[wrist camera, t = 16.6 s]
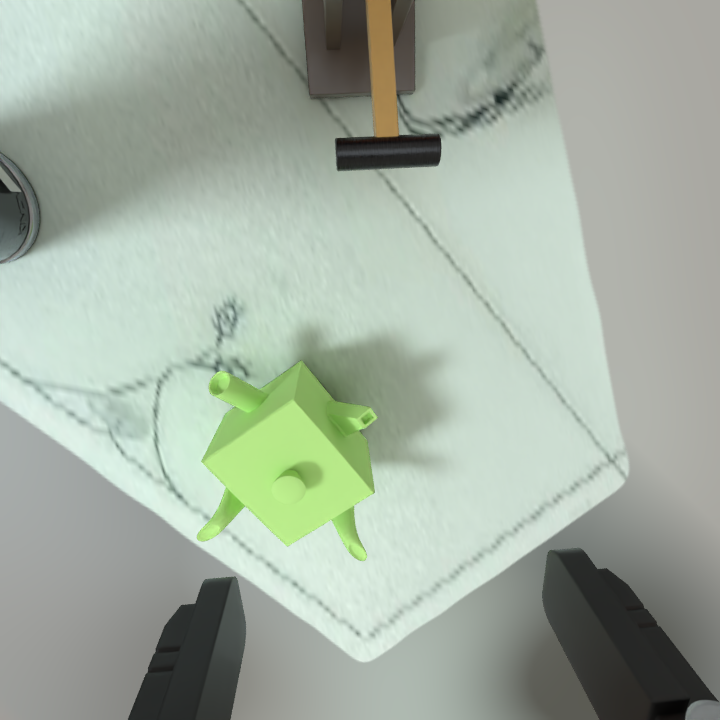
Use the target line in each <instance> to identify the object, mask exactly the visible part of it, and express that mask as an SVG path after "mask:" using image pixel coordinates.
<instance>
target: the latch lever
mask: <svg viewBox="0 0 720 720" xmlns="http://www.w3.org/2000/svg"><path fill="white" fill-rule="evenodd" d="M365 2H366V17H367V33H368V49H369V65H370V80H371V96H372V112H373V127H374V136H373V137H352V138H336V139H335V150H336V166H337V171H352V170H372V169H392V168H412V167H432V166H438V165H439V162H440V158H441V138H440V135H439V134H416V135H399V128H398V111H397V95H396V79H395V63H394V46H393V30H392V14H391V0H365Z"/></svg>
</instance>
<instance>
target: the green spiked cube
mask: <svg viewBox="0 0 720 720" xmlns="http://www.w3.org/2000/svg"><path fill="white" fill-rule="evenodd" d="M209 392H210V394H211V395H213V396H215V397H217V398H219V399H221V400H223V401H225V402H227V403H229V404H231V405H233V406H235V407H234V408H233V409H231V410H230V411H228V412H227V413H226V414H225V416H224V418H223V420H222V422H221V423H220V425H219V427H218V429H217V431H216V433H215V435H214V437H213V439H212V441H211V443H210V445H209V447H208V449H207V451H206V453H205V455H204V457H203V459H202V461H201V462H202V463H203V464H204V465H205V466H206V467H207V468H208V469H209V470H210V471H211V472H212V473H213V474H214V475H215V476H216V477H217V478H218V479H219V480H220V481H221V482H222V483H223V484H224V485H225V486H226V489H225V492H224V495H223V497H222V500H221V503H220V505H219V507H218V509H217V511H216V512H215V514H214V515H213V517H212V518H211V520H210V521H209V522H208V523H207V524H206V525H205V526H204V527H203V528H202V529H201V530H200V532H199V533H198V535H197V539H198V540H199V541H207V540H209V539H212V538H213V537H215V536H216V535H218V534H219V533H220V532H221V531H222V530H223V529H224V528H225V527H226V526H227V525H228V524H229V523H230V522H231V521H232V520H233V519H234V517H235V516H236V515H237V514H238V513H239V512H240V511H241V510H242V509H243V508H244V507H245V506H246V507H247V508H248V509H249V510H250V511H251V512H252V513H253V514H254V515H255V516H256V517H257V518H258V519H259V520H260V521H261V522H262V523H263V524H264V525H265V526H266V527H267V528H268V529H269V530H270V531H271V532H272V533H273V534H274V535H276V536H277V537H278V538H279V539H280V540H281V541H282V542H283V543H284V544H285V545H286V546H287V547H288V546H289V545H291V544H292V543H294V542H295V541H297V540H299V539H300V538H302V537H304V536H305V535H307V534H309V533H310V532H312V531H314V530H315V529H317V528H319V527H320V526H322V525H324V524H325V523H327V522H328V521H330V520H332V522H333V524H334V526H335V528H336V530H337V532H338V534H339V536H340V537H341V539H342V541H343V543H344V545H345V547H346V548H347V550H348V551H349V553H350V554H351V555H352V556H353V557H354V558H356V559H357V560H360V561H364V560H366V558H367V554H366V551H365V549H364V547H363V545H362V543H361V542H360V540H359V537H358V534H357V531H356V526H355V519H354V505H356V504H357V503H359V502H360V501H362V500H364V499H365V498H367V497H368V496H370V495H372V494H374V493H375V490H374V483H373V476H372V469H371V462H370V456H369V449H368V442H367V440H366V439H365V438H364V436H363V435H362V434H361V433H360V431H359V430H361V429H363V428H364V429H365V428H366V427H367V426H369V425H370V424H371V423H372V422H373V421H375V420H376V419H377V418H378V417H377V416H376V415H375V413H374V412H373V411H372V409H371V408H370V407H367V406H361V405H355V404H348V403H342V402H336V401H334V399H333V398H332V397H331V396H330V394H329V393H328V392H327V391H326V390H325V388H324V387H323V386H322V385H321V383H320V382H319V381H318V380H317V379H316V377H315V376H314V375H313V374H312V373H311V371H310V370H309V369H308V368H307V366H306V365H305V364H304V363H303V362H302V360H301V361H300V362H299V363H297V364H296V365H294V366H293V367H291V368H290V369H289V370H287V371H286V372H284V373H283V374H281V375H280V376H279V377H277V378H276V379H274V380H273V381H271V382H270V383H268V384H267V385H266V386H264V387H263V388H261V389H260V390H259V389H257V388H255V387H253V386H252V385H250V384H248V383H246V382H244V381H242V380H240V379H239V378H237V377H235V376H233V375H231V374H229V373H227V372H225V371H220V372H218V373H216V374H215V375H214V376H213V377H212V379H211V380H210V383H209Z"/></svg>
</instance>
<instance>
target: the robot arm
mask: <svg viewBox="0 0 720 720" xmlns="http://www.w3.org/2000/svg"><path fill="white" fill-rule="evenodd" d="M39 222H40V216H39V207H38V203H37V200H36V197H35V194H34V192H33V190H32V187H31V186H30V184H29V182H28V180H27V179H26V177H25V176H24V175H23V173H22V172H21V171H20V170H19V169H18V167H17V166H16V165H15V164H14V163H13V162H12V161H10V160H9V159H8V158H7V157H6V156H4V155H3V154H2V153H0V264H2V263H6V262H10V261H13V260H15V259H17V258H19V257H20V256H22V255H23V254H25V253H26V252H27V251H28V250H29V249H30V247H31V246H32V245H33V243H34V241H35V239H36V237H37V234H38V230H39ZM542 598H543V605H544V609H545V613H546V616H547V618H548V620H549V623H550V625H551V627H552V629H553V630H554V632H555V634H556V636H557V638H558V640H559V642H560V644H561V646H562V648H563V650H564V652H565V654H566V656H567V658H568V660H569V661H570V663H571V665H572V667H573V669H574V671H575V673H576V675H577V677H578V679H579V681H580V683H581V684H582V687H583V689H584V691H585V692H586V694H587V696H588V698H589V700H590V702H591V704H592V706H593V708H594V710H595V712H596V714H597V716H598V718H599V720H720V702H719V701H718V700H717V699H716V698H715V697H714V695H713V694H712V693H711V692H710V691H709V689H708V688H707V687H706V685H705V684H704V683H703V681H702V680H701V679H700V678H699V676H698V675H697V674H696V672H695V671H694V670H693V668H692V667H691V666H690V665H689V663H688V662H687V661H686V659H685V658H684V657H683V656H682V654H681V653H680V652H679V650H678V649H677V648H676V646H675V645H674V644H673V643H672V641H671V640H670V639H669V637H668V636H667V635H666V634H665V632H664V631H663V630H662V628H661V627H658V625H657V622H656V621H655V619H654V618H653V617H652V615H651V614H650V613H649V611H648V610H647V609H644V606H643V604H642V603H641V601H640V600H639V599H638V597H637V596H636V595H635V593H634V592H633V591H632V590H631V588H630V587H629V586H628V585H627V584H626V583H625V582H624V581H622V580H621V579H620V578H618V577H617V576H616V575H614V574H613V573H612V572H611V571H609V570H608V569H607V568H606V569H597V568H596V567H595V565H594V564H593V562H592V561H591V560H590V558H589V557H588V556H587V554H586V553H585V552H584V551H583V550H582V549H580V548H572V549H560V550H550V551H549V552H548V555H547V561H546V570H545V576H544V584H543V591H542ZM245 638H246V622H245V616H244V610H243V605H242V600H241V595H240V590H239V585H238V580H237V578H236V577H226V578H213V579H205V580H204V582H203V584H202V586H201V589H200V592H199V595H198V597H197V601H196V603H195V604H188V605H181V606H180V607H179V609H178V610H177V611H176V613H175V614H174V615H173V616H172V617H171V619H170V620H169V621H168V623H167V624H166V625H165V627H164V629H163V632H162V635H161V637H160V639H159V642H158V644H157V647H156V652H155V654H154V655H153V657H152V660H151V662H150V665H149V667H148V673H147V674H146V675H145V677H144V680H143V683H142V685H141V688H140V690H139V693H138V695H137V698H136V700H135V703H134V705H133V708H132V710H131V713H130V715H129V718H128V720H230V719H231V714H232V709H233V703H234V698H235V693H236V688H237V683H238V678H239V673H240V668H241V663H242V658H243V652H244V646H245Z"/></svg>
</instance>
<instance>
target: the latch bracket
mask: <svg viewBox="0 0 720 720" xmlns="http://www.w3.org/2000/svg"><path fill="white" fill-rule="evenodd" d="M302 8H303V20H304V33H305V46H306V58H307V71H308V84H309V95H310V98H333V97H357V96H371V80H370V65H369V49H368V33H367V17H366V2H365V0H302ZM391 14H392V30H393V46H394V63H395V79H396V95H403V94H413V92H414V91H415V0H391Z"/></svg>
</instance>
